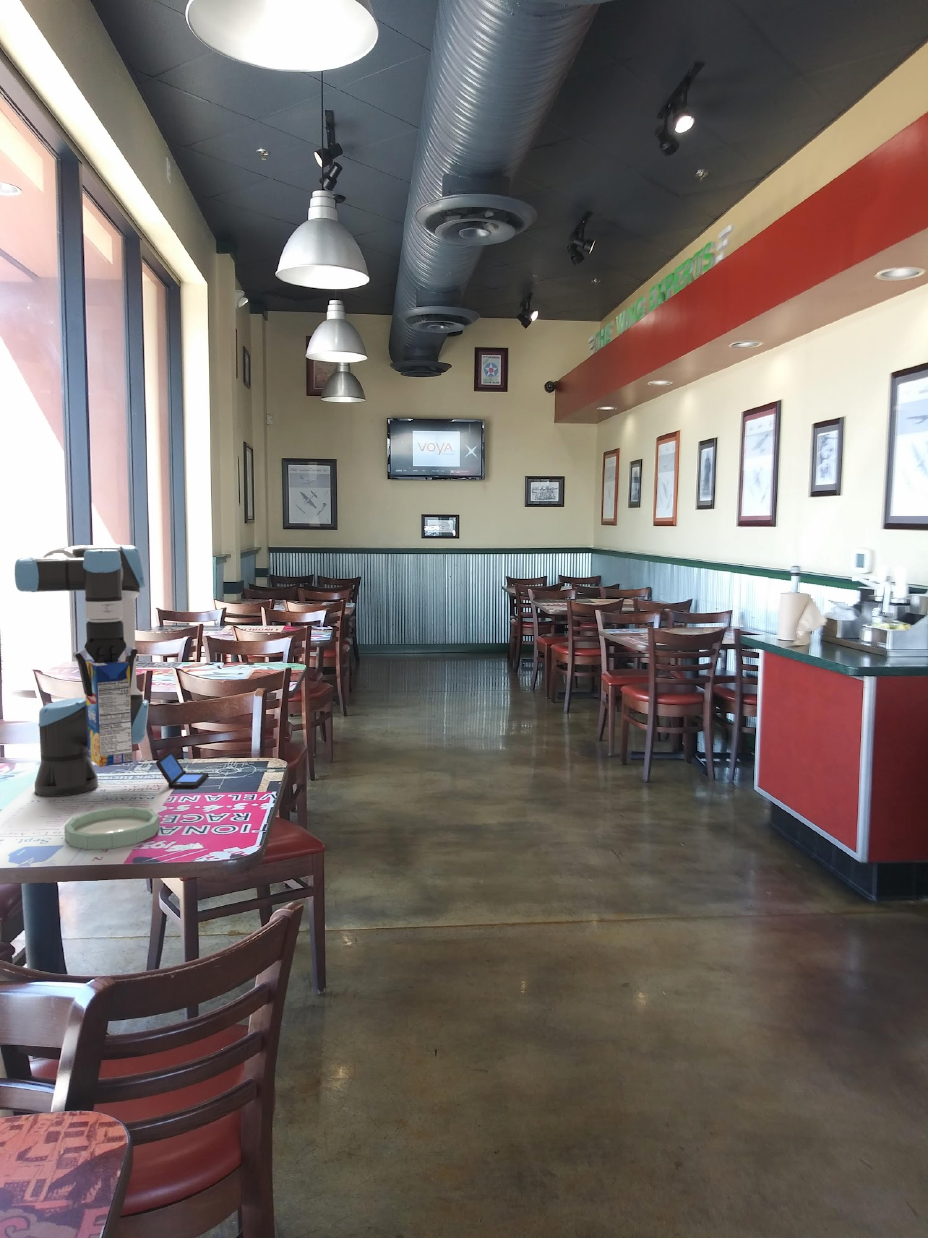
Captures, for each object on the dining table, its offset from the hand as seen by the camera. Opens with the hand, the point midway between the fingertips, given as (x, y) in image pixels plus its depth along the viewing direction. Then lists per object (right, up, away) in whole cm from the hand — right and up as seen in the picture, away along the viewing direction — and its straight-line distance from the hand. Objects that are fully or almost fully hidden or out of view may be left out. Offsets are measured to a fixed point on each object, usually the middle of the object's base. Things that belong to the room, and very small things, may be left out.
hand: (108, 725), depth 188 cm
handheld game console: (+2, -21, +43) cm, 48 cm away
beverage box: (0, -8, +1) cm, 8 cm away
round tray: (0, -24, +2) cm, 25 cm away
